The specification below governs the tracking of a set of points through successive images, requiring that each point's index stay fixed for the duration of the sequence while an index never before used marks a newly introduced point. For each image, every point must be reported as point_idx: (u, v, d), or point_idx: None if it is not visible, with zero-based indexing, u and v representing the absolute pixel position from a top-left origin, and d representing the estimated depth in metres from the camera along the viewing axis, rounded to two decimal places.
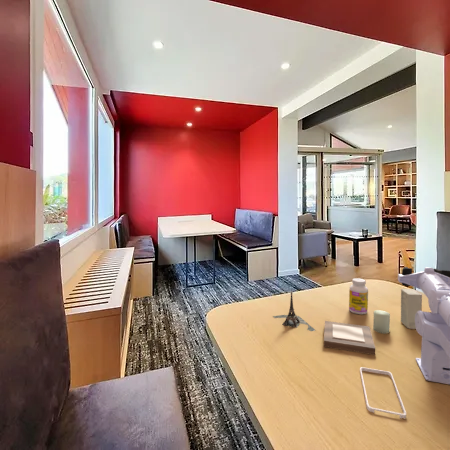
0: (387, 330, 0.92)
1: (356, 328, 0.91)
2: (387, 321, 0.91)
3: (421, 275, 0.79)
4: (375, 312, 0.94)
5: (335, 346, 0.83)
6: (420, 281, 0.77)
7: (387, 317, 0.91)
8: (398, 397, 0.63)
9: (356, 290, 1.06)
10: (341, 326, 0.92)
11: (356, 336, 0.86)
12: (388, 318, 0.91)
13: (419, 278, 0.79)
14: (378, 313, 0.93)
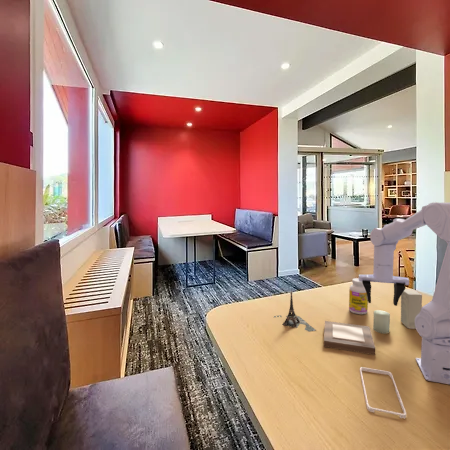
0: (387, 330, 0.92)
1: (356, 328, 0.91)
2: (387, 321, 0.91)
3: None
4: (375, 312, 0.94)
5: (335, 346, 0.83)
6: None
7: (387, 317, 0.91)
8: (398, 397, 0.63)
9: (356, 290, 1.06)
10: (341, 326, 0.92)
11: (356, 336, 0.86)
12: (388, 318, 0.91)
13: None
14: (378, 313, 0.93)
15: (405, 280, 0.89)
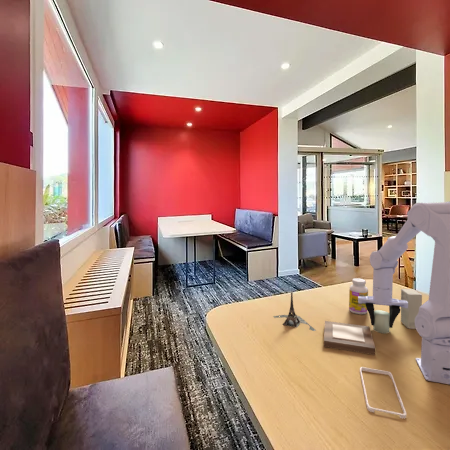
0: (387, 330, 0.92)
1: (356, 328, 0.91)
2: (387, 321, 0.91)
3: None
4: (375, 312, 0.94)
5: (335, 346, 0.83)
6: None
7: (387, 317, 0.91)
8: (398, 397, 0.63)
9: (356, 290, 1.06)
10: (341, 326, 0.92)
11: (356, 336, 0.86)
12: (388, 318, 0.91)
13: None
14: (378, 313, 0.93)
15: (404, 303, 0.90)
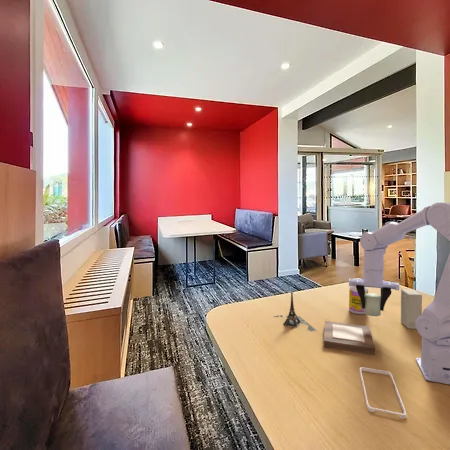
0: (378, 313, 0.89)
1: (356, 328, 0.91)
2: (378, 304, 0.89)
3: None
4: (366, 295, 0.92)
5: (335, 346, 0.83)
6: None
7: (378, 299, 0.89)
8: (398, 397, 0.63)
9: (356, 290, 1.06)
10: (341, 326, 0.92)
11: (356, 336, 0.86)
12: (379, 300, 0.89)
13: None
14: (369, 296, 0.91)
15: (395, 285, 0.87)
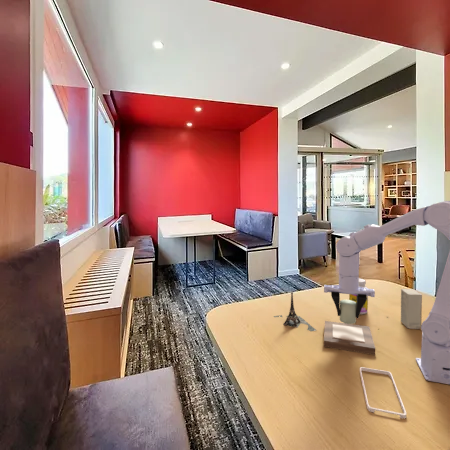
0: (353, 320, 0.86)
1: (356, 328, 0.91)
2: (353, 311, 0.85)
3: None
4: (341, 301, 0.88)
5: (335, 346, 0.83)
6: None
7: (352, 306, 0.85)
8: (398, 397, 0.63)
9: None
10: (341, 326, 0.92)
11: (356, 336, 0.86)
12: (354, 308, 0.86)
13: None
14: (344, 302, 0.87)
15: (371, 292, 0.84)
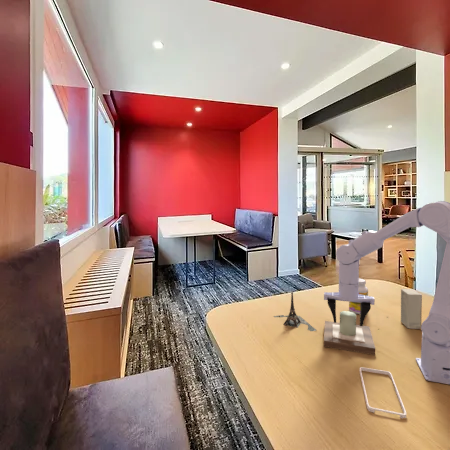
0: (353, 332, 0.86)
1: (356, 328, 0.91)
2: (352, 323, 0.86)
3: None
4: (341, 313, 0.89)
5: (335, 346, 0.83)
6: None
7: (352, 318, 0.86)
8: (398, 397, 0.63)
9: None
10: None
11: (356, 336, 0.86)
12: (354, 319, 0.86)
13: None
14: (344, 314, 0.88)
15: (370, 299, 0.84)
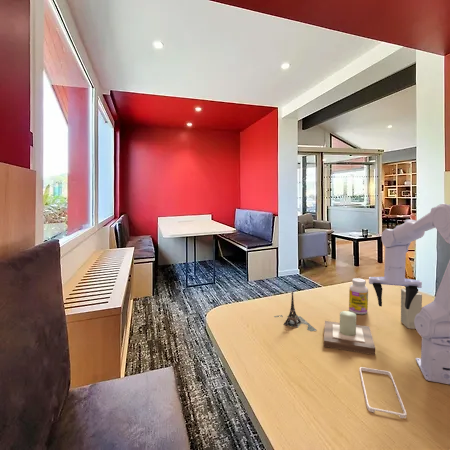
0: (353, 332, 0.86)
1: (356, 328, 0.91)
2: (352, 323, 0.86)
3: None
4: (341, 313, 0.89)
5: (335, 346, 0.83)
6: None
7: (352, 318, 0.86)
8: (398, 397, 0.63)
9: (356, 290, 1.06)
10: None
11: (356, 336, 0.86)
12: (354, 320, 0.86)
13: None
14: (344, 314, 0.88)
15: (418, 283, 0.86)
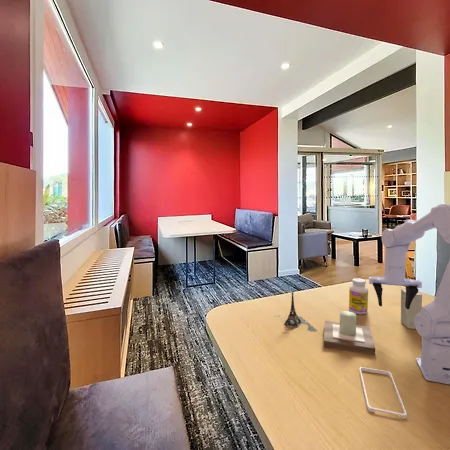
0: (353, 332, 0.86)
1: (356, 328, 0.91)
2: (352, 323, 0.86)
3: None
4: (341, 313, 0.89)
5: (335, 346, 0.83)
6: None
7: (352, 318, 0.86)
8: (398, 397, 0.63)
9: (356, 290, 1.06)
10: None
11: (356, 336, 0.86)
12: (354, 320, 0.86)
13: None
14: (344, 314, 0.88)
15: (418, 283, 0.86)
